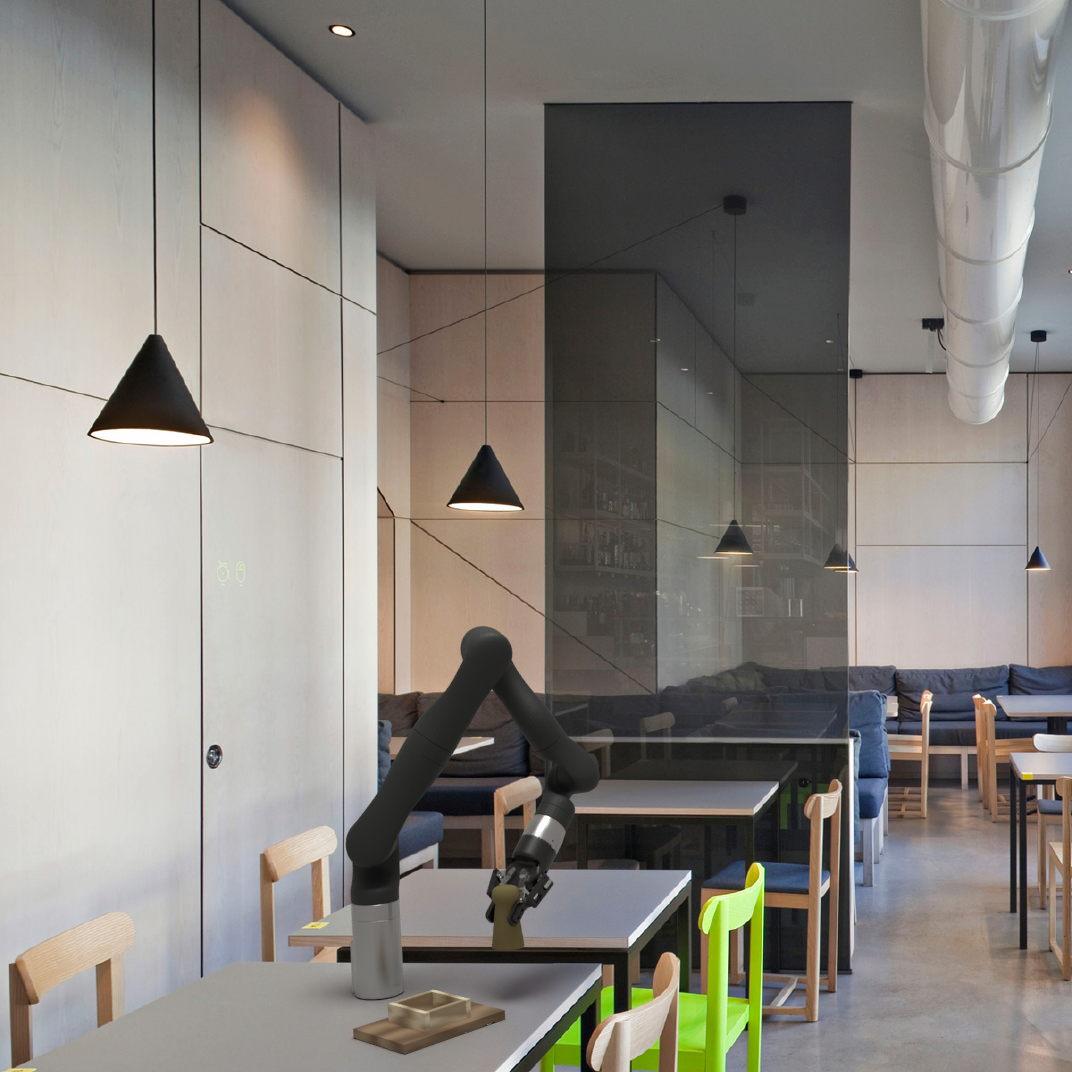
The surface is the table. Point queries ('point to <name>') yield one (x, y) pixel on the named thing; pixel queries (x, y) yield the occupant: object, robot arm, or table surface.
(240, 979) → the table surface
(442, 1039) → the collar board
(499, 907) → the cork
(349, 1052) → the table surface
